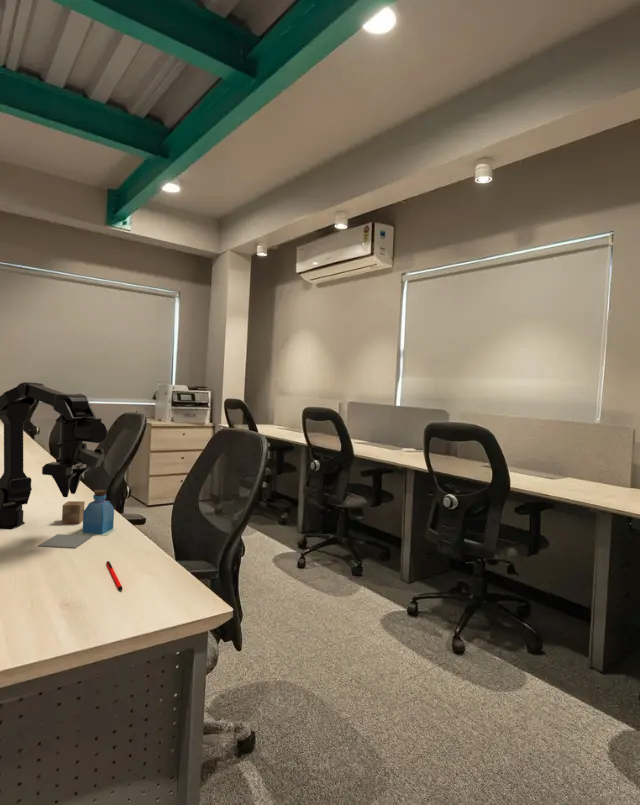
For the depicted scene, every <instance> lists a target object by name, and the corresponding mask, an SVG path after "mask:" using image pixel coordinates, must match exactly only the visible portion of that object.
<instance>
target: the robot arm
mask: <svg viewBox="0 0 640 805" xmlns="http://www.w3.org/2000/svg"><path fill="white" fill-rule="evenodd" d="M37 401H38V402H41V403H44V404H45V405H48V406H51V407H52V409H53V411H55V413H58V414H60V416H59V417H57V418H56V419H55V422H56V423H60V430H59V431H60V432H59V436H60V437H59V442H58V443H56V448H59V454H58V455H59V456H58V458H56V459H55V461H52V462H48V463H46V464H44V465H43V466H42V467H41V474H42V475H44V476H51V477H52V479H53V480H54V482H55V484H56V485H57V486H56V487H57V488H58V489H59V491H60V494H61V496H62V497H63V498H68V497H69V492H70V494H72V495H75V494H76V492H77V490H78V486H79V484H80V481H81V479H82V476H83V474H85V473H86V472H87V471H88V470H89V471H90V468H91V469H96V468H98V467H99V468H100V467H101V465H102V462H103V461H105V460H106V458H105V457H106V455H105V449H103V448H100V447H98V448H95V449H94V450H93V449H89V448H87V447H88V446H87V443H94V444H100V443H102V442H104V441H105V439H106V438H107V435H108V430H107V427H106V425H105V424H104V423H103V422H102V417H96V415H95V412H94V410H93V409H92V407H91V404H90V402H89V401H88V397H87V396H86V395H84V394H78V393H77V394H76V393H66V392H65V393H64V392H62V391H58V390H56V389H53V388H50V387H48V386H47V387H46V386H44V385H41V384H40V383H38V382H28V381H26V382H24V381H23V382H20V383H19V384H17V386H16V387H13V388H11V389H9V390H6V391H5V392H3V393H2V394H1V395H0V421H1V422H2V424H3V473H2V476H1V477H0V529H2V530H13V529H15V528H18V527H20V526H22V525H25V524H26V522H25V521H24V512H25V511H24V509H23V505H27V504H28V502H29V499H30V496H31V492H32V491H33V490H32V478H31V477H30V476H29V477H28V475H26V473H25V472H24V424H25V422H26V421H27V419H28V418H29V417H30V412H31V411H30V409H31V407H33V406H34V405H35V404H36V403H37ZM85 465H86V466H88V467H86V466H85Z"/></svg>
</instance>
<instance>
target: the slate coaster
mask: <svg viewBox="0 0 640 805" xmlns="http://www.w3.org/2000/svg"><path fill="white" fill-rule="evenodd" d="M91 538H93V535H78V534H62V533H60V534H59V533H57V534H55V535H54V536H52V537H49V538H48V539H47V540H45V541H43V542H42V543H39V544H38V545H37V547H38V548H39V547H40V548H56V549H57V548H58V549H77V548H79V547H80V546H81V545H83V544H84V543H86V542H87V541H89V540H91Z"/></svg>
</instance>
